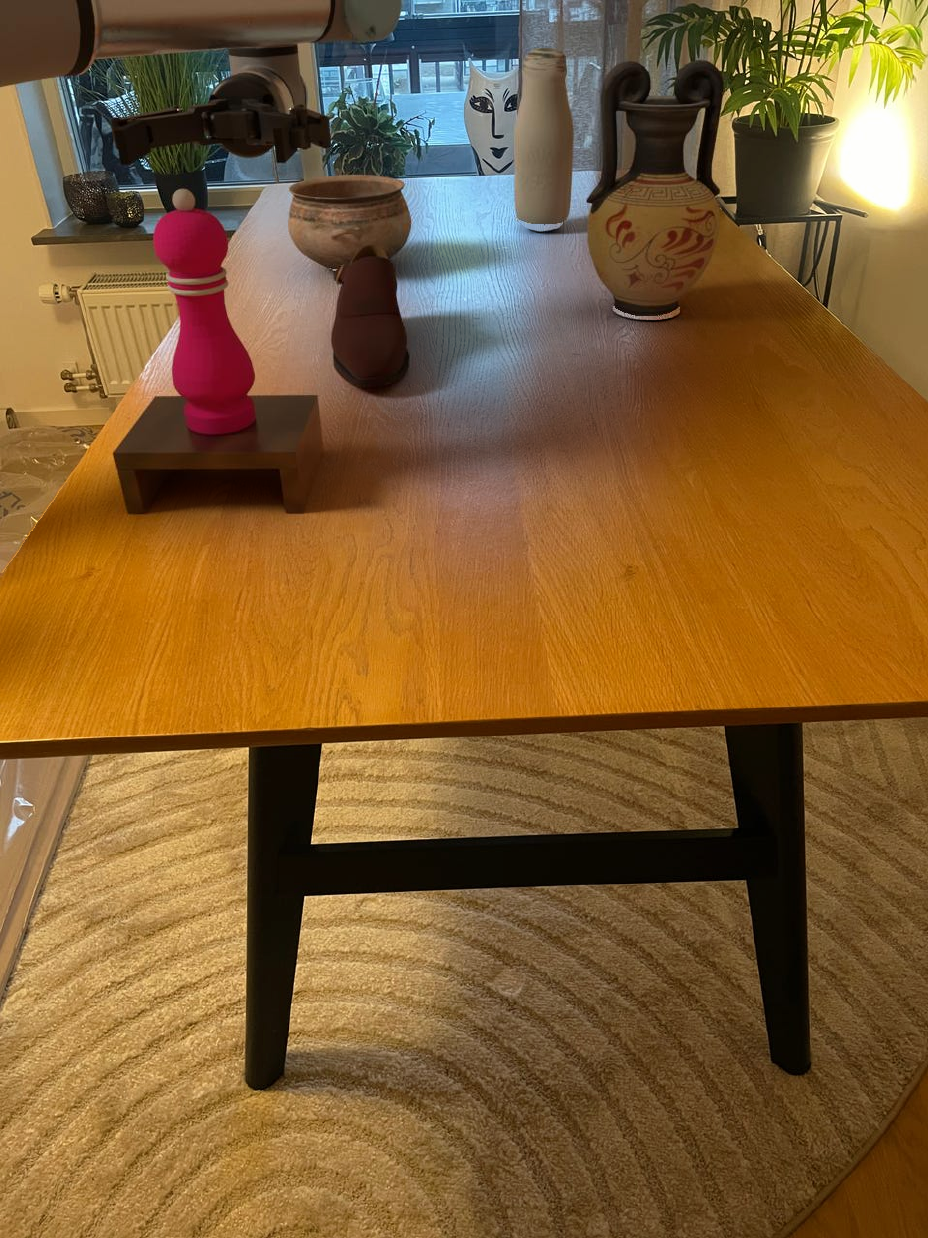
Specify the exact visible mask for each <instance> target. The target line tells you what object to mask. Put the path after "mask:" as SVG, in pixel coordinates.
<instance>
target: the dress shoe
mask: <svg viewBox="0 0 928 1238" xmlns="http://www.w3.org/2000/svg"><path fill="white" fill-rule="evenodd" d="M391 259H392V258H390V257H389V256H388V254H387V252H386V251H385V250H384V249H383V248H382V247H381V246H379V245H375V244H371V245H366V246H364V247H362V248H361V249H360V250H359V251H358V252H357V253H356V255H355V256H354V257H353V259H352V260H351V262H350V264H349V266H348V267H345V266H344V265H342V267H341V268H338V269H337V270H336V271H335V272H333V280H334V281H335V283H336V285H337V286H338V285H341V286H340V288H339V292H338V296H337V299H336V306H335V307H336V309H335V316H334V321H333V325H332V328H331V335H330V337H331V338H330V343H331V347H332V351H333V352H332V358H333V359H332V362H333V363H332V365H333V367H334V369H335V371H336V373H337V374H338V375H339V376H340V377H341V378H342V379H343V380H344V381H345V382H347V383H348V384H350V385H351V386H354V387H358V388H374V387H381V386H385V385H386V386H387V385H390V384H393V383H395V382H397V381H399V380H400V379H401V378H403V376H405V375H406V373H407V372H408V370H409V368H410V352H409V349H408V335H407V331H406V330H407V329H406V327H405V325H404V324H405V323H404V321H403V318H402V315H401V310H400V306H399V301H398V296H397V293H398V278H397V273H396V268H395V264H394V262H393V261H392V260H391Z"/></svg>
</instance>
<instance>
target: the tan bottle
mask: <svg viewBox="0 0 928 1238" xmlns="http://www.w3.org/2000/svg"><path fill="white" fill-rule="evenodd" d="M567 75H568V67H567V56H566V55H565V54H564V52H562V51H561V50H558V49H556V48H552V47H537V48H533V49H531V50H530V51H529V52H527V54H526V55H525V56H524V59H523V63H522V67H521V79H522V89H521V90H522V91H521V97H520V103H519V106H518V110H517V115H516V120H515V125H514V131H513V162H514V163H513V165H514V167H513V168H514V188H513V189H514V191H513V192H514V196H513V197H514V210H515V216H516V218H518V219H519V220H521V221H524V222H527V223H531V224H544V225H545V224H557V223H562V222H564V221H565V220H566V221H567V220H568V217H569V216H570V211H571V203H572V187H573V169H574V168H573V166H574V147H575V146H574V145H575V129H574V120H573V115H572V110H571V107H570V102H569V97H568V89H567V82H566V78H567ZM518 219H517V220H518ZM519 220H518V221H519ZM566 221H565V222H566ZM565 222H564V223H565Z"/></svg>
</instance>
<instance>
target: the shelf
mask: <svg viewBox="0 0 928 1238" xmlns="http://www.w3.org/2000/svg"><path fill="white" fill-rule="evenodd" d="M248 396H250V397H251V398H252V399H253V401H254V408H255V415H256V418H255V421H254V422H253V424H252V425H250V426H249V427H247V428H245V429H243V430H240V431H238V432H234V433H229V434H222V435H204V434H200V433H196V432H194V431H192V430H190V429H189V428H188V426H187V423H186V418H185V413H184V406H185V404H186V403H187V402H188V401H187V400H186V399H184V398H183V397H182V396H181V395H155V396H154V397H153V399H152V400H151V401H150V403H149V404H148V405H147V406H146V408H145V409H144V411H143V412H142V413H141V414H140V416H139V417H138V418H137V420H136V421H135V422H134V424H133V425H132V427H130V429H129V430H128V432H127V433H126V434H125V436H124V437H123V438H122V440H121V441H120V442H119V444H118V445H117V447H116V448H115V449H114V450H113V452H112V456H113V461H114V464H115V469H116V472H117V476H118V481H119V483H120V489H121V492H122V497H123V500H124V504H125V508H126V513H127V514H128V515H129V514H135V515H136V514H145V513H146V512H147V510H148V508H149V507H150V505H151V504H152V502H153V500H154V499H155V497H156V496H157V494H158V493H159V491H160V489H161V488H162V486H163V485H164V483H165V481H166V479H167V478H168V476H169V475H170V473H171V471H172V470H267V469H268V470H269V469H270V470H271V469H273V470H274V469H275V470H276V469H277V470H279V476H280V483H281V490H282V498H283V504H284V512H285V514H303V513H304V510H305V508H306V505H307V501H308V499H309V496H310V493H311V490H312V487H313V484H314V482H315V478H316V476H317V472H318V470H319V466H320V464H321V460H322V457H323V454H324V452H325V451H324V450H325V449H324V442H323V440H324V439H323V432H322V423H321V415H320V405H319V404H320V403H319V395H318V394H291V395H290V394H276V395H275V394H274V395H272V394H271V395H270V394H268V395H264V394H263V395H262V394H261V395H260V394H259V395H258V394H257V395H256V394H255V395H251V394H249V395H248Z"/></svg>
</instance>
